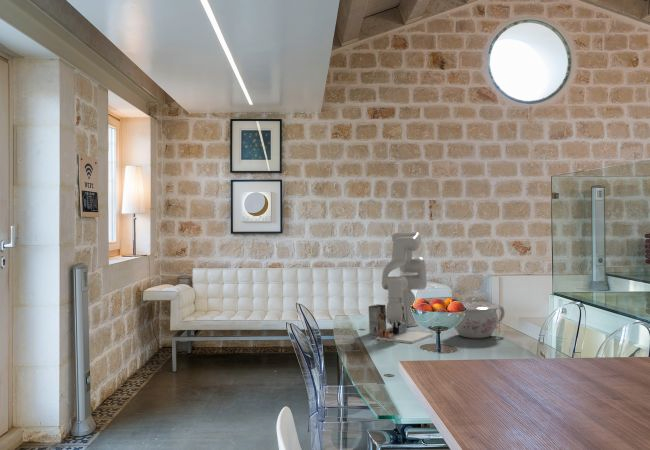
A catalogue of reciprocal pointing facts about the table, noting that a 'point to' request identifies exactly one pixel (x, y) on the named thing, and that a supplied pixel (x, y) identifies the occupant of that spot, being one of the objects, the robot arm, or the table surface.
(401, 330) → the tong arm
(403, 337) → the plate
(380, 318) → the coffee box
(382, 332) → the tong base
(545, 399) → the table surface
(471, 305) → the chamber pot
